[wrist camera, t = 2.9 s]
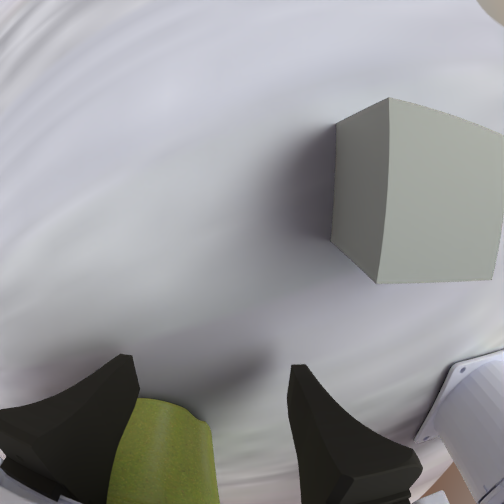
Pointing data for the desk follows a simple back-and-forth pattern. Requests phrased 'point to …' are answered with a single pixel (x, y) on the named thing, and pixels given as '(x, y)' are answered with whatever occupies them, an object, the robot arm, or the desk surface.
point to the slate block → (418, 194)
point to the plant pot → (163, 458)
